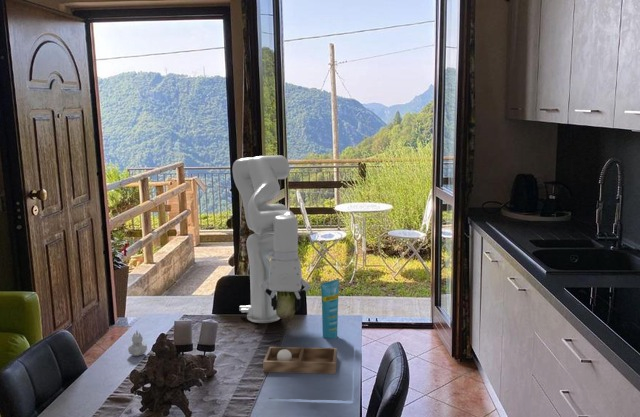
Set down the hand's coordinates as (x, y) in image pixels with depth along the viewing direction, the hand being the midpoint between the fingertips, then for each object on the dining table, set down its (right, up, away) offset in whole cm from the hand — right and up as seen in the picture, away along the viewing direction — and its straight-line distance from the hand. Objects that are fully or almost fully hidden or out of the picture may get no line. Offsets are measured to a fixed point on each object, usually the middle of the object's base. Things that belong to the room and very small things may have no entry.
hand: (285, 308), depth 176 cm
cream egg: (+1, -14, -14) cm, 20 cm away
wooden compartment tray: (+5, -14, -15) cm, 21 cm away
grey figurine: (-45, -14, -6) cm, 47 cm away
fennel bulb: (0, -3, +1) cm, 4 cm away
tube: (+14, -11, +7) cm, 19 cm away
